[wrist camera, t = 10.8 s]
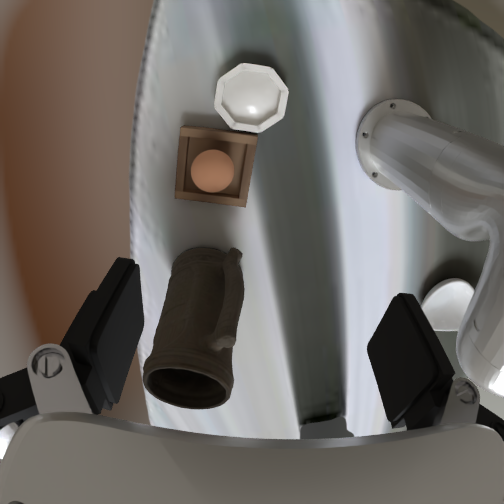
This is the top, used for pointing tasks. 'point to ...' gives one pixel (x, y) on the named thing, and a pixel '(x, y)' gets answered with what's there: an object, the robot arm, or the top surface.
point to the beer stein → (197, 331)
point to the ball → (212, 170)
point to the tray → (226, 141)
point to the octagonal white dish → (251, 97)
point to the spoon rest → (447, 304)
